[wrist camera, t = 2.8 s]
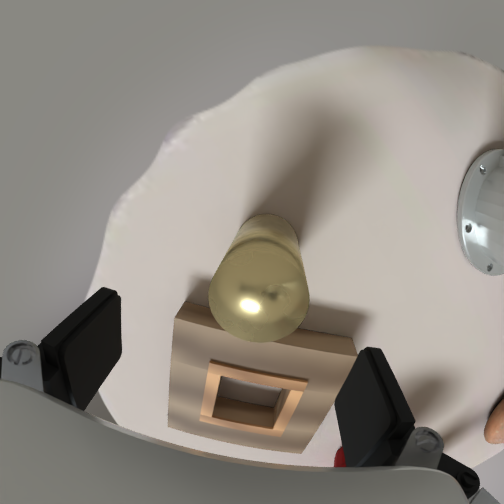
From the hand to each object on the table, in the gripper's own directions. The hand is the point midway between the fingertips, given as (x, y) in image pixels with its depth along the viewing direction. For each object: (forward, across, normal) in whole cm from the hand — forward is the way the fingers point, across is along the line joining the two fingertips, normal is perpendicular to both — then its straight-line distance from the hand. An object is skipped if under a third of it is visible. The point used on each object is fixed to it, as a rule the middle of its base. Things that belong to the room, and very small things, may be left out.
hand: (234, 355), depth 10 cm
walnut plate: (+14, -3, +15) cm, 21 cm away
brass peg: (+14, -1, 0) cm, 14 cm away
